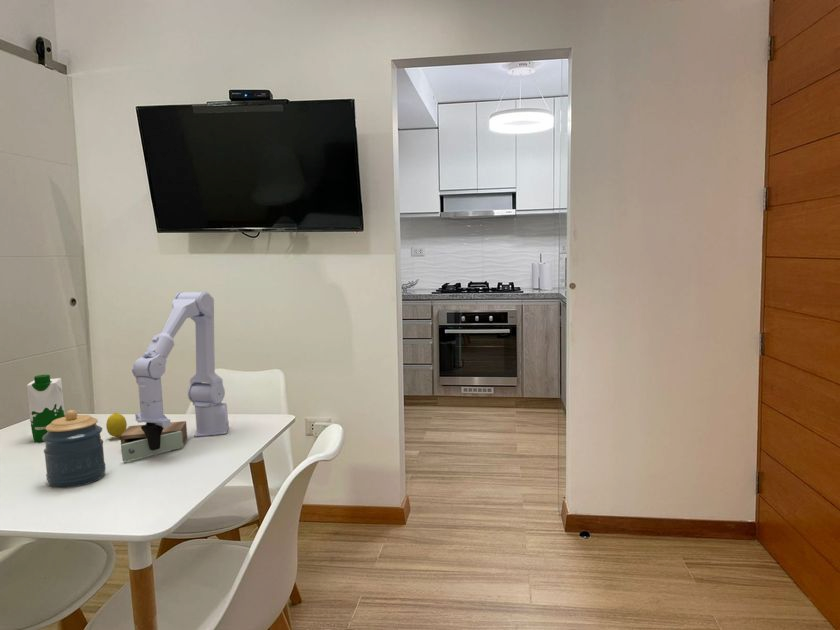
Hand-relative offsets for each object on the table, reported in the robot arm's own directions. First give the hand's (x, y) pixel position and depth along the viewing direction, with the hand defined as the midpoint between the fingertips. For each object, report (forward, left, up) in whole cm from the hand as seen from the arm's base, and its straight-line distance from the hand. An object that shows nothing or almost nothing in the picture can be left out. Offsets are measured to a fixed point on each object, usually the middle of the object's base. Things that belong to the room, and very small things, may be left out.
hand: (154, 449), depth 166 cm
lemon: (+15, -22, -2) cm, 27 cm away
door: (0, -1, -2) cm, 2 cm away
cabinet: (+2, -11, -2) cm, 11 cm away
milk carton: (+36, -29, -2) cm, 46 cm away
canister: (+16, +12, -2) cm, 20 cm away
